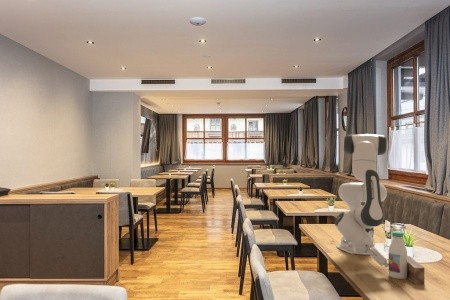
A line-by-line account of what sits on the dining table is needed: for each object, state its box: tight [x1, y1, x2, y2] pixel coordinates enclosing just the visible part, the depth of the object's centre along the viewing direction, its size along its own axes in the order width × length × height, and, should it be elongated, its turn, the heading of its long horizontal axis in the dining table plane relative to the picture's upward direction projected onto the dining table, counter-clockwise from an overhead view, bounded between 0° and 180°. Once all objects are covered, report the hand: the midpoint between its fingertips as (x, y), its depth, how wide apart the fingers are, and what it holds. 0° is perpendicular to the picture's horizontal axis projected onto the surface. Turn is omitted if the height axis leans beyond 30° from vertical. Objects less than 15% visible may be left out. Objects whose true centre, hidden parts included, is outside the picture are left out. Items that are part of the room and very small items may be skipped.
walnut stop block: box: [407, 255, 425, 285], centre depth 165 cm, size 4×18×7 cm, turn 171°
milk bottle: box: [388, 231, 408, 280], centre depth 166 cm, size 8×8×20 cm
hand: (386, 265), depth 167 cm, fingers closed
